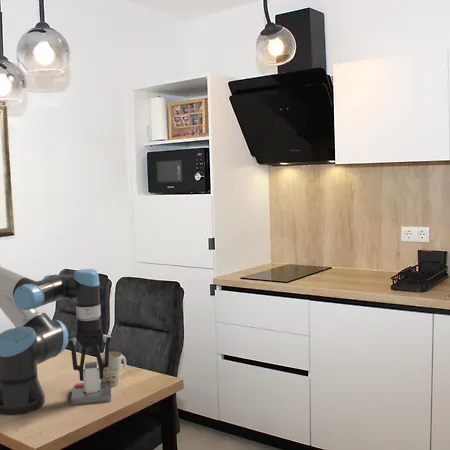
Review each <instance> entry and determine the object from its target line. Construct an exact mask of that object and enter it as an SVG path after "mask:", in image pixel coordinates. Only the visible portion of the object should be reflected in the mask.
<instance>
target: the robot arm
mask: <svg viewBox="0 0 450 450" xmlns="http://www.w3.org/2000/svg"><path fill="white" fill-rule="evenodd" d="M99 279H100V278H99V272H98V270H97V269H94V268H93V269H92V268H88V269H87V268H84V269H83V268H82V269H78V270H76V271H74V274H73V275H66V274H65V275H64V274H63V275H62V274H48V275H45V276H44V277H43V279H41V280H33V279H31V278H29V277H26V276H23V275H21V274H18V273H16V272H15V271H11V270H9V269H8V268H5V267H2V266H1V265H0V309H1V311H2V313H4V315H5V316H6V317H7V318H8V319H9V321H10V322H11V324H12V325H13V326H14V327H15V328H10V329H9V328H8V329H6V330H5V331H2V332H1V333H0V415H7V416H8V415H21V414H26V413H30V412H32V411H35V410H37V409H39V408H41V407H42V406H43V405H44V404H45V402H46V399H45V393H44V391H43V388H42V386H41V383H40V381H39V378H38V377H39V376H38V365H40V364H41V363H44V362H45V361H48V360H50V359H52V358H56V357H57V356H58V355H59V354H61V353H63V352H64V350H66V348H67V346H68V345H69V346H70V351H71V361H72V369H73V371H78V373H79V380H80V382H82V383H84V392H86V378H85V360H86V359H85V358H86V352H87V348H93V351H94V353H95V357H96V360H97V361H98V362H97V366H98V365H99V367H97V383H98V390H100V383H101V379H103V369H104V368H106V367H108V366H109V352H110V350H109V347H110V343H111V339H112V336H111V335H110V334H109V335H107V334H104V332H103V330H102V318H101V316H102V315H101V312H102V311H101V301H100V300H101V299H100V298H101V297H100V280H99ZM65 299H66V300H75V311H76V312H75V313H76V318H77V320H76V331H77V333H76V336H74V337H73V338H72V337H70V338H69V332H68V329H67V328H68V327H66V325H65V324H64V323H63V322H62V321H61V320H58V319H51V318H50V317H49V316H48V314H47V313H46V312H44V311H43V312H42V311H38V310H37V308H40V307H42V306H45V305H48V304H51V303H53V302H56V301H59V300H65ZM102 340H103V343H104V352H105V363H103V362H102V358H101V351H100V347H99V344H100V343H101V341H102ZM77 342H78V343H79V344H80V345H81V346H82V347H81V348H82V349H81V353H80V354H81V356H80V361H79V365H78V357H77V350H76V348H77V346H76V345H77Z"/></svg>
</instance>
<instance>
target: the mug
mask: <svg viewBox="0 0 450 450" xmlns="http://www.w3.org/2000/svg"><path fill="white" fill-rule="evenodd" d="M100 354H101V358H102V362H103V363H105V351H104V352H100ZM122 362H123V366H122ZM97 363H98V361H97ZM97 368H99V365H98V364H97ZM126 368H127V359H126V357H125V356H124V355H123V354H122V353H121V352H119V351H109V366H108V367H106V368H104V369H103V379H100V383H103V382H111V388H112V387H116V386H118V385H119V384H120V383H121V380H120V379H121V376H122V375H123V374H124V373H125V372H126V371H125V370H126Z"/></svg>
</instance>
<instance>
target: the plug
mask: <svg viewBox="0 0 450 450" xmlns="http://www.w3.org/2000/svg"><path fill="white" fill-rule="evenodd" d="M97 368H98V362H97V361H95V360H94V361H87V362H86V361H84V369H85V378H86V393H94V392H98V383H97Z"/></svg>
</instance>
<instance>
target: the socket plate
mask: <svg viewBox="0 0 450 450" xmlns="http://www.w3.org/2000/svg"><path fill="white" fill-rule="evenodd" d="M72 386H73V388H72V392H71V399H70V400H71V405H72V406H73V405H76V406H77V405H86V404H95V403H96V404H97V403H104V402H106V403H108V402H111V401H112V387H111V382H103V383H101V382H100V390H98V392H94V393H86V392H84V382H80V383H79V382H78V383H75V384H74V385H72Z"/></svg>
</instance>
